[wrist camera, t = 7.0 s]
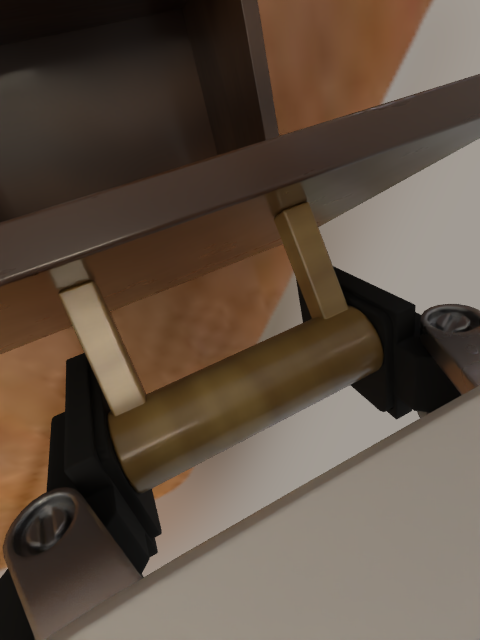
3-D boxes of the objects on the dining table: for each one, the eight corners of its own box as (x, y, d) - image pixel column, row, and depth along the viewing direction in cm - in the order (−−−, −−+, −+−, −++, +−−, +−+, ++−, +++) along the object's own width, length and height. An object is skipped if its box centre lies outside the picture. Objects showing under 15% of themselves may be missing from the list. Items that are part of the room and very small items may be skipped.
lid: (-603, 405, 3) (-322, 831, 4) (569, 44, 7) (637, 283, 8) (-8, 338, 17) (40, 437, 17) (295, 223, 21) (327, 307, 21)
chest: (-122, 52, 18) (-254, -11, 11) (186, -7, 22) (244, -83, 15) (19, 284, 25) (-3, 342, 17) (236, 207, 29) (294, 229, 21)
